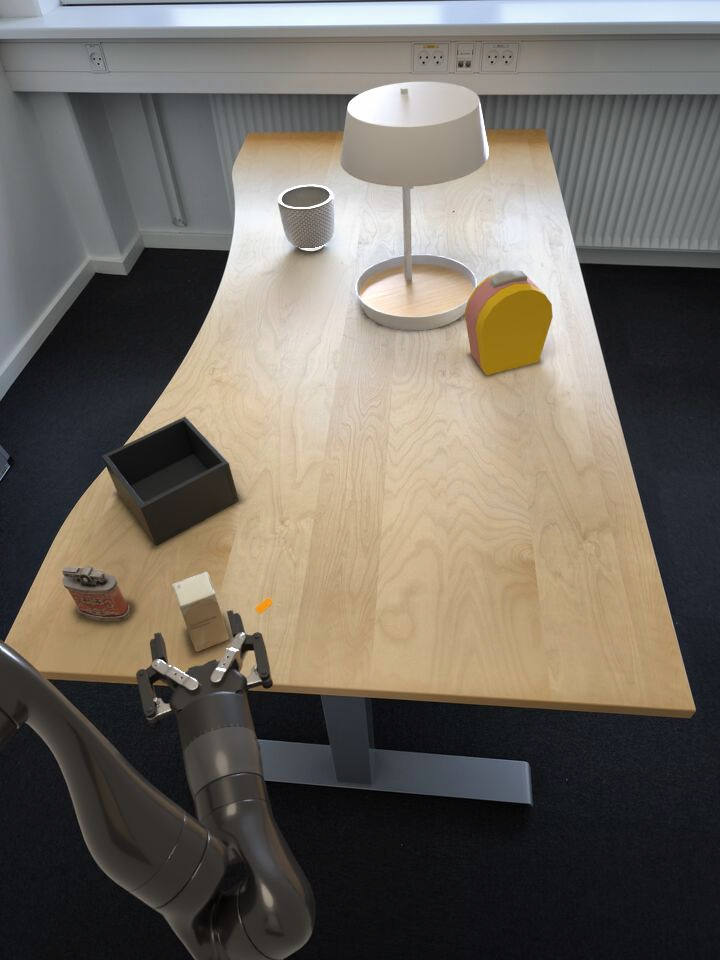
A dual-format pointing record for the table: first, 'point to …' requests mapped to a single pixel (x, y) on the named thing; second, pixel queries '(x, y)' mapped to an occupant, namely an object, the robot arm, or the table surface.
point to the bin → (171, 479)
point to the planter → (307, 215)
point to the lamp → (407, 163)
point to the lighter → (95, 593)
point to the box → (201, 611)
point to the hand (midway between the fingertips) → (195, 625)
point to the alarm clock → (507, 322)
